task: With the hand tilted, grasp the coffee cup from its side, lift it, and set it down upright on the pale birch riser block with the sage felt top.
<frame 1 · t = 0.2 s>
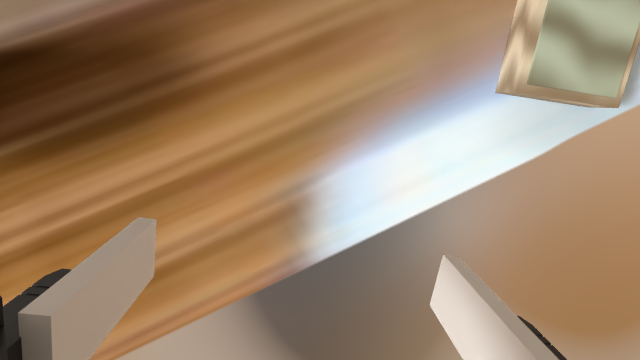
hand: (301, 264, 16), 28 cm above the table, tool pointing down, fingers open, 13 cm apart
birch riser: (557, 46, 42), on the table
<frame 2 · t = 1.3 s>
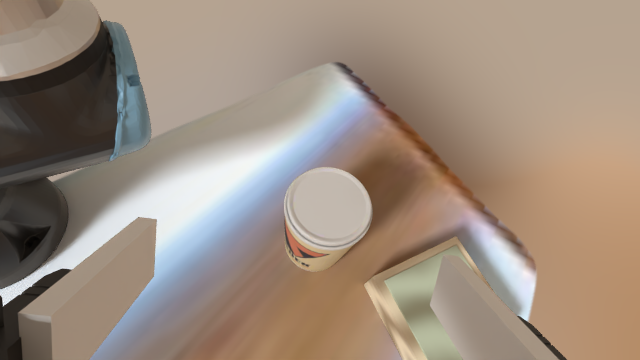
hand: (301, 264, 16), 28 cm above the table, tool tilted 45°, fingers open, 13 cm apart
coffee cup: (313, 243, 46), on the table
birch riser: (432, 311, 43), on the table
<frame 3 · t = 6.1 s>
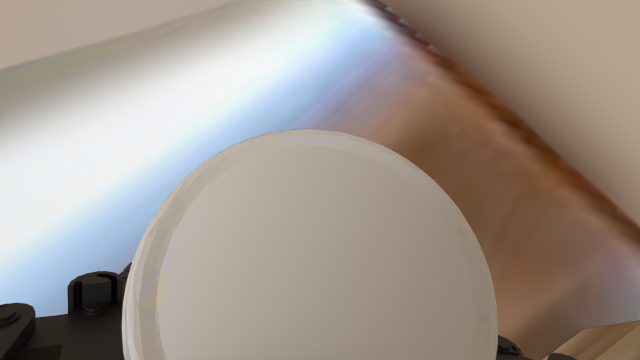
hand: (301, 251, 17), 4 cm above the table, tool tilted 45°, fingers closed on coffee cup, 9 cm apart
coffee cup: (287, 333, 19), on the table, touching gripper
when the fingers open (9 cm above the table, at t = 11.1 s): coffee cup drops 1 cm, resting on birch riser.
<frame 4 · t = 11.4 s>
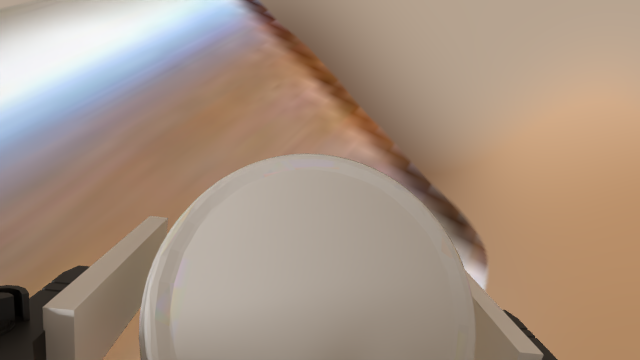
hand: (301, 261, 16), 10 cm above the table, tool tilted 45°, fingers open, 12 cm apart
coffee cup: (287, 337, 20), point 4 cm above the table, touching birch riser
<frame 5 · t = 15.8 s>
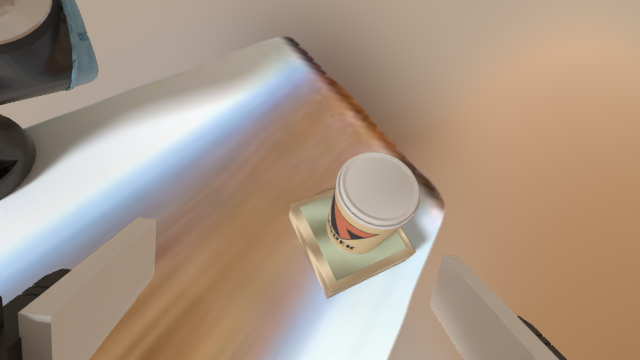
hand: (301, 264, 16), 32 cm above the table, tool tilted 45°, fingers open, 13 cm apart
coffee cup: (353, 228, 47), point 4 cm above the table, touching birch riser
birch riser: (346, 238, 51), on the table
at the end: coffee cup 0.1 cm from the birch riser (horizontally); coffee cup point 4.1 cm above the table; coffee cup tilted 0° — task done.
